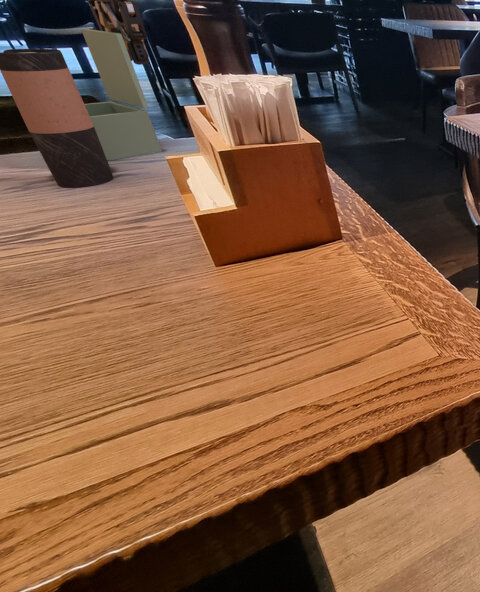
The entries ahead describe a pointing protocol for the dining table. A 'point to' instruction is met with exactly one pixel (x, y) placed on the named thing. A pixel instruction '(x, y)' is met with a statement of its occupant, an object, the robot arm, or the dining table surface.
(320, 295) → the dining table surface
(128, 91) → the lid
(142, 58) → the robot arm
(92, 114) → the chest
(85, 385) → the dining table surface
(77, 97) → the travel mug
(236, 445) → the dining table surface
